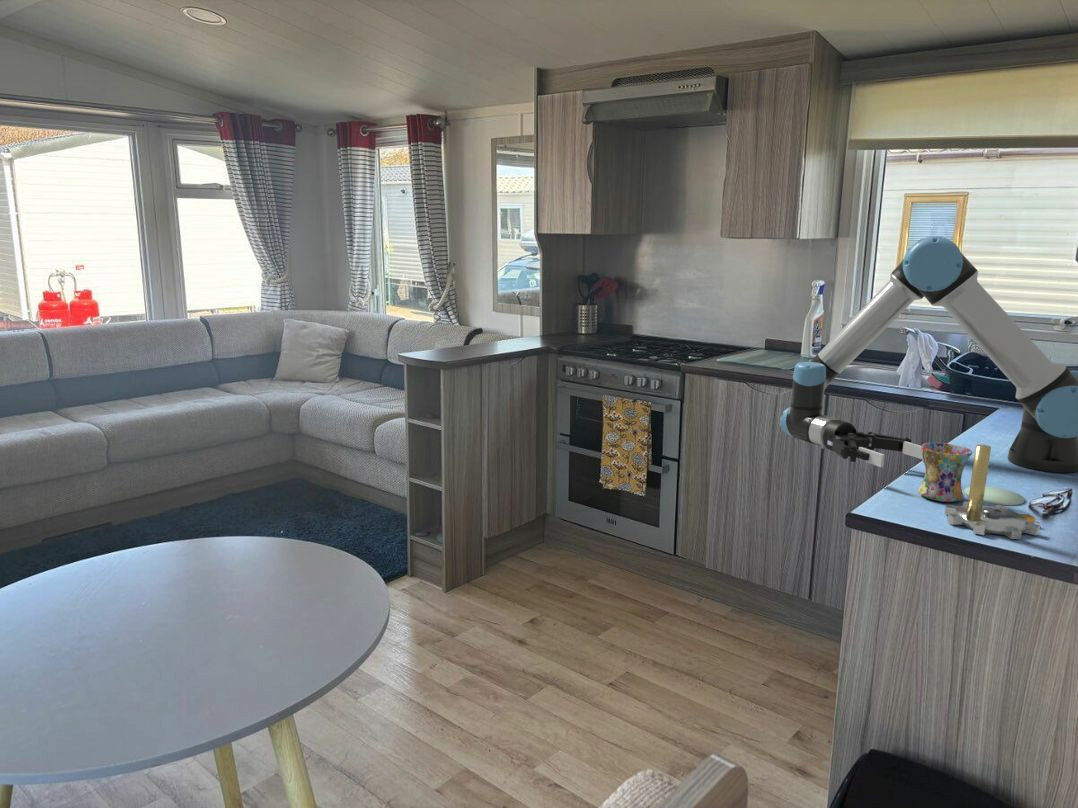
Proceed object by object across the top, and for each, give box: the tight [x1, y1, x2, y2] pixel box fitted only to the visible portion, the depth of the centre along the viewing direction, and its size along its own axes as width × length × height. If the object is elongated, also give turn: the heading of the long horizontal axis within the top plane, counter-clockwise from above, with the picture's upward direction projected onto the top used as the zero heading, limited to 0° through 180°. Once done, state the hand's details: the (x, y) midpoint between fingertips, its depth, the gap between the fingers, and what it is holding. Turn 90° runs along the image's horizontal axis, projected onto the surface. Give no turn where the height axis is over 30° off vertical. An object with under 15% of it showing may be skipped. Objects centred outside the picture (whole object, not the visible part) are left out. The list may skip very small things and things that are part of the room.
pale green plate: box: [963, 486, 1026, 506], centre depth 167 cm, size 11×11×1 cm
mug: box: [917, 442, 973, 503], centre depth 166 cm, size 12×9×11 cm
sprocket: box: [944, 444, 1041, 540], centre depth 149 cm, size 15×15×16 cm
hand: (906, 457), depth 173 cm, fingers open, 13 cm apart
